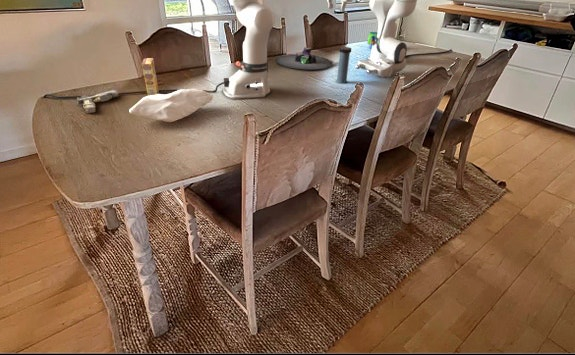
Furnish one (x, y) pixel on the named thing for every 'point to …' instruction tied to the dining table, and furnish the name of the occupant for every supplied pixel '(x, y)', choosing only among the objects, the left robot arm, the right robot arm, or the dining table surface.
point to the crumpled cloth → (171, 104)
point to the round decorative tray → (304, 61)
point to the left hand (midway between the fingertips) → (336, 10)
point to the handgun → (95, 100)
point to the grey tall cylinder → (343, 67)
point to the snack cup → (372, 39)
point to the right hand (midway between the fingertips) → (361, 69)
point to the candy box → (150, 76)
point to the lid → (345, 49)
